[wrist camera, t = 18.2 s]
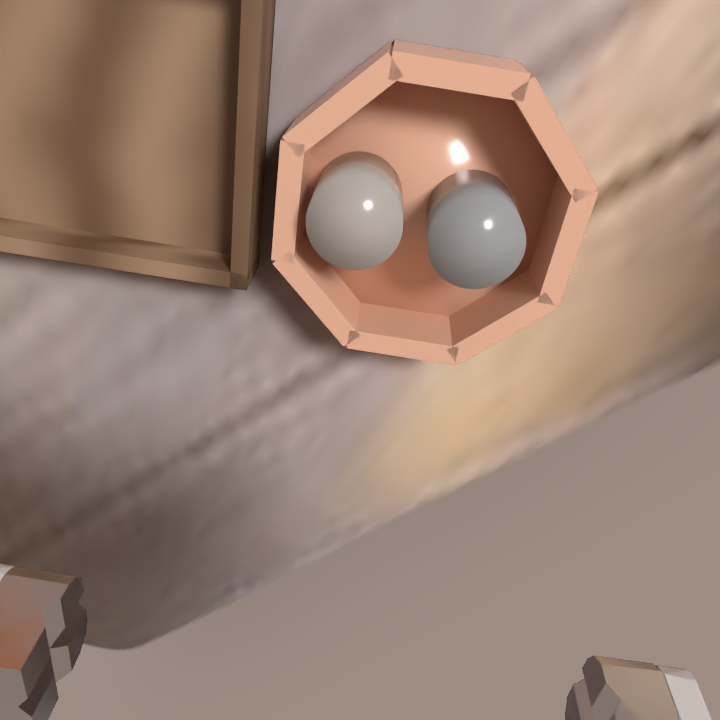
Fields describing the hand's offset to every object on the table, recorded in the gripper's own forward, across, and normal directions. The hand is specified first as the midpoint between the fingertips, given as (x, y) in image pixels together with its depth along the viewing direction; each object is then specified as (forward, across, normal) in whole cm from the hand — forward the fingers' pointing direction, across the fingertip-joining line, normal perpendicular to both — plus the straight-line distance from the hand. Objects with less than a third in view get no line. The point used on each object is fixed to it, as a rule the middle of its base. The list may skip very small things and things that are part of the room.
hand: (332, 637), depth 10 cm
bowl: (+24, -2, 0) cm, 24 cm away
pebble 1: (+23, +1, 0) cm, 23 cm away
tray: (+24, +13, -2) cm, 27 cm away
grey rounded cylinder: (+23, -4, 0) cm, 23 cm away
